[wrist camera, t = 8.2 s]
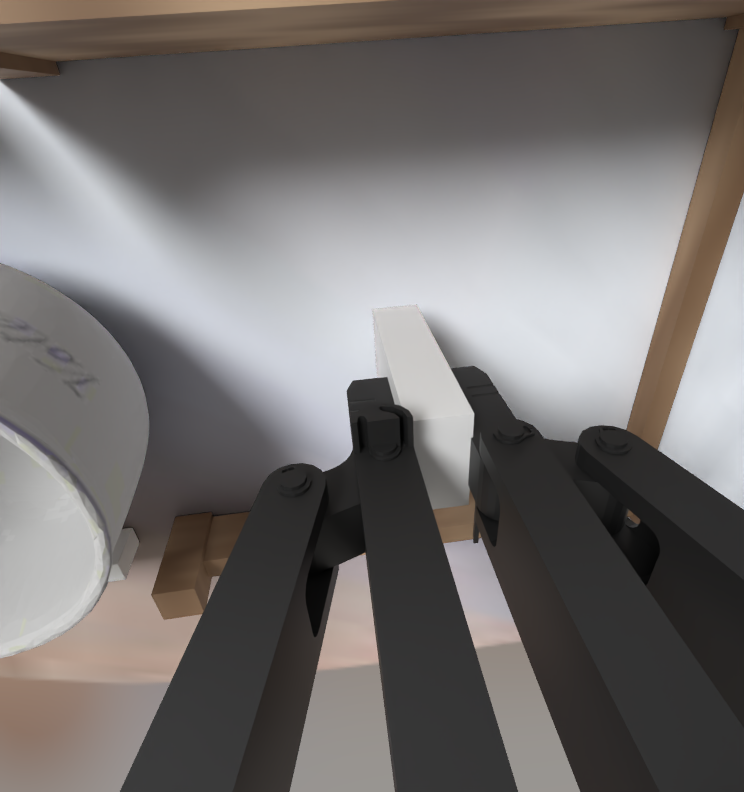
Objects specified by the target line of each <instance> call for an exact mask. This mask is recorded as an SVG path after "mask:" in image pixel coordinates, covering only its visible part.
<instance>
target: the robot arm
mask: <svg viewBox="0 0 744 792" xmlns="http://www.w3.org/2000/svg"><path fill="white" fill-rule="evenodd" d="M372 311H373V325H374V340H375V355H376V369H377V378H373V379H364V380H355V381H352V383H351V385H350V386H349V388H348V390H347V398H348V407H349V417H350V426H351V435H352V443H353V451H352V453H351V455H350V456H349V457H348V459H347V460H346V461H345V462H343V463H342V464H341V465H339V466H337V467H335V468H333V469H331V470H328V471H325V472H322V471H321V470H320V469H319V468H317V467H315V466H313V465H309V464H304V463H300V464H290V465H287V466H284V467H281V468H279V469H277V470H276V471H274V472H273V473H271V474H270V475H269V476H268V478H267V479H266V480H265V482H264V483H263V485H262V487H261V489H260V491H259V494H258V496H257V498H256V500H255V502H254V504H253V506H252V509H251V511H250V513H249V515H248V517H247V519H246V521H245V524H244V526H243V528H242V530H241V532H240V534H239V537H238V539H237V541H236V543H235V545H234V547H233V549H232V552H231V554H230V556H229V558H228V560H227V562H226V564H225V567H224V569H223V571H222V573H221V575H220V577H219V580H218V582H217V584H216V586H215V588H214V590H213V592H212V595H211V597H210V599H209V601H208V603H207V605H206V608H205V610H204V612H203V614H202V616H201V618H200V620H199V623H198V625H197V627H196V629H195V631H194V633H193V635H192V638H191V640H190V642H189V644H188V646H187V648H186V651H185V653H184V655H183V657H182V659H181V661H180V663H179V666H178V668H177V670H176V672H175V674H174V676H173V678H172V681H171V683H170V685H169V687H168V689H167V691H166V694H165V696H164V698H163V700H162V702H161V704H160V707H159V709H158V711H157V713H156V715H155V717H154V719H153V722H152V724H151V726H150V728H149V730H148V732H147V735H146V737H145V739H144V741H143V743H142V746H141V747H140V749H139V752H138V754H137V756H136V758H135V760H134V763H133V765H132V767H131V769H130V771H129V773H128V776H127V777H126V780H125V782H124V784H123V786H122V788H121V790H120V792H289V791H290V787H291V782H292V778H293V773H294V769H295V764H296V760H297V755H298V751H299V746H300V742H301V737H302V733H303V728H304V724H305V719H306V714H307V710H308V706H309V701H310V697H311V691H312V687H313V683H314V679H315V674H316V670H317V665H318V661H319V656H320V651H321V647H322V642H323V638H324V633H325V629H326V624H327V620H328V615H329V611H330V606H331V602H332V597H333V593H334V588H335V584H336V579H337V575H338V570H339V564H341V563H343V562H345V561H347V560H350V559H352V558H354V557H356V556H359V555H361V554H363V553H366V560H367V569H368V577H369V585H370V593H371V601H372V609H373V617H374V625H375V634H376V642H377V650H378V658H379V666H380V674H381V682H382V690H383V698H384V707H385V715H386V723H387V731H388V739H389V747H390V755H391V763H392V772H393V780H394V787H395V792H518V790H517V787H516V783H515V780H514V777H513V773H512V770H511V767H510V763H509V760H508V757H507V754H506V750H505V747H504V744H503V740H502V737H501V734H500V730H499V727H498V724H497V721H496V717H495V714H494V711H493V707H492V704H491V701H490V697H489V694H488V691H487V688H486V684H485V681H484V677H483V674H482V671H481V668H480V665H479V661H478V658H477V654H476V651H475V648H474V644H473V641H472V638H471V634H470V631H469V628H468V625H467V621H466V618H465V615H464V611H463V608H462V605H461V601H460V598H459V595H458V592H457V588H456V585H455V582H454V578H453V575H452V572H451V568H450V565H449V562H448V558H447V555H446V552H445V549H444V545H443V542H442V539H441V535H440V532H439V529H438V525H437V522H436V519H435V515H434V512H433V509H440V508H448V507H456V506H464V505H469V491H471V493H472V495H473V498H474V500H475V512H474V526H473V542H474V543H478V539H479V532H480V535H481V537H482V540H483V542H484V545H485V547H486V550H487V553H488V555H489V558H490V560H491V563H492V565H493V568H494V571H495V573H496V576H497V578H498V581H499V583H500V586H501V589H502V591H503V594H504V596H505V599H506V601H507V604H508V607H509V609H510V612H511V614H512V617H513V619H514V622H515V625H516V627H517V630H518V632H519V635H520V637H521V640H522V643H523V645H524V648H525V650H526V653H527V655H528V658H529V660H530V663H531V666H532V668H533V671H534V673H535V676H536V679H537V681H538V684H539V686H540V689H541V691H542V694H543V696H544V699H545V702H546V704H547V707H548V710H549V712H550V714H551V717H552V720H553V722H554V725H555V728H556V730H557V733H558V735H559V738H560V740H561V743H562V746H563V748H564V751H565V753H566V755H567V758H568V761H569V764H570V766H571V769H572V771H573V774H574V776H575V779H576V782H577V784H578V787H579V789H580V792H744V510H743V509H742V508H740V507H739V506H737V505H736V504H735V503H733V502H732V501H730V500H729V499H727V498H726V497H724V496H723V495H722V494H720V493H719V492H717V491H716V490H714V489H713V488H712V487H710V486H709V485H707V484H706V483H704V482H703V481H701V480H700V479H699V478H697V477H696V476H694V475H693V474H691V473H690V472H688V471H687V470H686V469H684V468H683V467H681V466H680V465H678V464H677V463H675V462H674V461H673V460H671V459H670V458H668V457H667V456H665V455H664V454H663V453H661V452H660V451H658V450H657V449H655V448H654V447H652V446H651V445H650V444H648V443H647V442H645V441H644V440H642V439H641V438H639V437H638V436H636V435H635V434H633V433H631V432H629V431H627V430H624V429H621V428H617V427H614V426H602V425H601V426H594V427H589V428H587V429H586V430H584V431H582V433H581V435H580V436H579V440H578V443H576V442H565V441H555V440H549V439H544V438H543V437H542V435H541V434H540V432H539V431H538V430H537V429H536V428H535V427H534V426H533V425H530V424H528V423H526V422H524V421H521V420H517V419H516V418H515V417H514V415H513V414H512V412H511V411H510V409H509V408H508V406H507V405H506V403H505V401H504V400H503V398H502V397H501V395H500V394H498V391H497V389H496V388H495V386H493V383H492V381H491V380H490V378H489V377H488V375H487V374H486V373H484V372H483V371H481V370H479V369H478V368H476V367H475V366H470V367H461V368H452V369H450V367H449V365H448V363H447V361H446V359H445V357H444V355H443V353H442V351H441V350H440V348H439V346H438V344H437V342H436V340H435V338H434V336H433V334H432V332H431V331H430V329H429V327H428V325H427V323H426V321H425V319H424V317H423V315H422V313H421V312H420V310H419V308H418V306H417V305H407V306H398V307H388V308H378V309H372ZM629 510H630V511H631V512H632V513H633V514H634V515H636V516H637V517H638V518H639V519H640V523H639V524H636V523H635V522H633V521H632V520H630V519H629V518H628V517H627V515H628V511H629Z"/></svg>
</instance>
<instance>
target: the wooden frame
mask: <svg viewBox="0 0 744 792" xmlns="http://www.w3.org/2000/svg"><path fill="white" fill-rule="evenodd" d="M723 17H727V19H726V23H725V26H724V30H734V29H739V32H738V35H737V39H736V42H735V46H734V50H733V53H732V57H731V60H730V64H729V67H728V71H727V74H726V78H725V82H724V85H723V89H722V92H721V96H720V99H719V103H718V106H717V110H716V114H715V117H714V121H713V124H712V128H711V131H710V135H709V138H708V142H707V145H706V149H705V153H704V156H703V160H702V163H701V167H700V170H699V174H698V177H697V181H696V185H695V188H694V192H693V195H692V199H691V202H690V206H689V209H688V213H687V217H686V220H685V224H684V227H683V231H682V234H681V238H680V241H679V245H678V249H677V252H676V256H675V259H674V263H673V266H672V270H671V273H670V277H669V281H668V284H667V288H666V291H665V295H664V298H663V302H662V305H661V309H660V312H659V316H658V320H657V323H656V327H655V330H654V334H653V337H652V341H651V344H650V348H649V352H648V355H647V359H646V362H645V366H644V369H643V373H642V376H641V380H640V384H639V387H638V391H637V394H636V398H635V401H634V405H633V408H632V412H631V416H630V419H629V423H628V426H627V431H629V432H631V433H633V434H635V435H636V436H638V437H639V438H641V439H642V440H644V441H645V442H647V443H648V444H650V445H651V446H652V447H654V448H655V449H657V450H658V447H659V444H660V441H661V438H662V435H663V432H664V429H665V426H666V423H667V420H668V417H669V414H670V411H671V408H672V405H673V402H674V399H675V396H676V393H677V390H678V387H679V384H680V381H681V378H682V375H683V372H684V369H685V366H686V363H687V360H688V357H689V354H690V351H691V348H692V345H693V342H694V339H695V336H696V333H697V330H698V327H699V324H700V321H701V318H702V315H703V312H704V309H705V306H706V303H707V300H708V297H709V294H710V291H711V288H712V285H713V282H714V279H715V276H716V273H717V270H718V267H719V264H720V261H721V258H722V255H723V252H724V249H725V247H726V244H727V241H728V238H729V235H730V232H731V229H732V226H733V223H734V220H735V217H736V214H737V211H738V208H739V205H740V202H741V199H742V196H743V193H744V0H0V79H14V78H29V77H43V76H58V75H60V73H59V70H58V67H57V64H56V62H57V61H72V60H87V59H102V58H118V57H133V56H148V55H163V54H178V53H193V52H208V51H224V50H239V49H254V48H269V47H284V46H299V45H314V44H330V43H345V42H360V41H375V40H390V39H405V38H420V37H435V36H451V35H466V34H481V33H496V32H511V31H526V30H541V29H557V28H572V27H587V26H602V25H617V24H632V23H647V22H663V21H678V20H693V19H708V18H723ZM433 512H434V515H435V519H436V522H437V525H438V529H439V532H440V535H441V539H442V542H443V543H449V542H456V541H463V540H470V539H473V526H474V512H475V500H474V498H473V495H472V493H471V491H469V505H464V506H456V507H448V508H440V509H433ZM249 513H250V512H244V513H236V514H229V515H222V516H214V517H213V515H212V512H208V513H200V514H193V515H185V516H178V517H175V520H174V524H173V527H172V530H171V533H170V536H169V540H168V543H167V546H166V549H165V552H164V556H163V559H162V562H161V565H160V569H159V572H158V575H157V578H156V581H155V585H154V588H153V591H152V594H151V595H152V597H153V599H154V601H155V603H156V605H157V607H158V609H159V611H160V613H161V615H162V617H163V619H164V620H165V619H172V618H179V617H186V616H192V615H199V614H203V612H204V610H205V608H206V605H207V600H208V595H209V589H210V584H211V579H212V577H213V576H220V575H221V573H222V571H223V569H224V567H225V564H226V562H227V560H228V558H229V556H230V554H231V552H232V549H233V547H234V545H235V543H236V541H237V539H238V537H239V534H240V532H241V530H242V528H243V526H244V524H245V521H246V519H247V517H248V515H249ZM627 517H629V518H630V519H631V520H632V521H633V522H635V523H636V524H639V523H640V519H639V518H638V517H637V516H636V515H634V514H633V513H632V512H631V511H630V510H629V511H628V515H627ZM479 538H482V537H481V535H480V532H479ZM365 554H366V553H363V554H361V555H365Z"/></svg>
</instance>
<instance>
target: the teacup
mask: <svg viewBox="0 0 744 792" xmlns="http://www.w3.org/2000/svg"><path fill="white" fill-rule="evenodd" d="M148 438H149V414H148V407H147V402H146V397H145V393H144V390H143V387H142V384H141V381H140V379H139V377H138V375H137V373H136V371H135V369H134V367H133V365H132V362H131V361H130V359H129V358H128V356H127V355H126V353H125V352H124V350H123V349H122V348H121V346H120V345H119V344H118V342H117V341H116V340H115V339H114V337H113V336H112V335H111V334H110V333H109V332H108V331H107V330H106V329H105V328H104V327H103V326H102V325H101V324H100V323H99V322H98V321H97V320H96V319H95V318H94V317H93V316H92V315H91V314H89V313H88V312H87V311H86V310H85V309H83V308H82V307H81V306H80V305H78V304H77V303H75V302H74V301H73V300H71V299H70V298H68V297H67V296H65V295H64V294H62V293H61V292H59V291H57V290H56V289H54V288H53V287H51V286H49V285H48V284H46V283H44V282H42V281H40V280H38V279H36V278H34V277H32V276H30V275H28V274H26V273H24V272H21V271H19V270H17V269H14V268H12V267H10V266H7V265H4V264H1V263H0V658H3V657H8V656H12V655H15V654H18V653H20V652H23V651H27V650H30V649H32V648H35V647H38V646H40V645H43V644H45V643H47V642H49V641H51V640H53V639H55V638H56V637H59V636H61V635H63V634H64V633H65V632H67V631H68V630H70V629H71V628H73V627H74V626H75V625H76V624H77V623H79V622H80V621H81V620H82V619H83V618H84V617H86V616H87V615H88V614H89V613H90V612H91V611H92V609H93V608H94V606H95V605H96V604H97V602H98V601H99V599H100V597H101V595H102V593H103V592H104V590H105V588H106V586H107V583H108V579H109V575H110V571H111V567H112V559H113V550H114V548H115V545H116V543H117V540H118V538H119V535H120V532H121V530H122V527H123V525H124V522H125V519H126V517H127V514H128V511H129V508H130V505H131V502H132V500H133V497H134V494H135V491H136V488H137V485H138V481H139V478H140V475H141V472H142V468H143V465H144V461H145V456H146V451H147V446H148Z"/></svg>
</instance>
